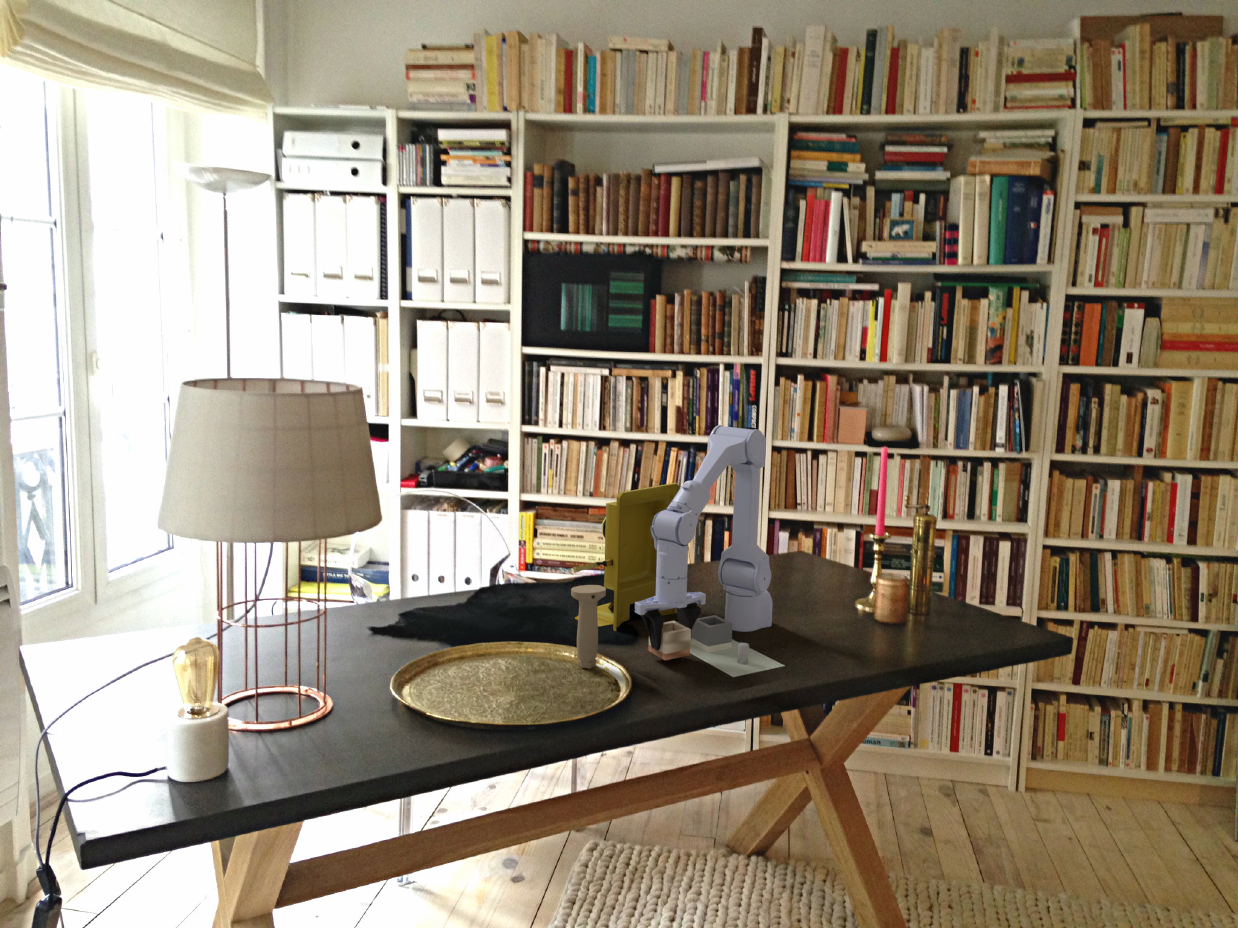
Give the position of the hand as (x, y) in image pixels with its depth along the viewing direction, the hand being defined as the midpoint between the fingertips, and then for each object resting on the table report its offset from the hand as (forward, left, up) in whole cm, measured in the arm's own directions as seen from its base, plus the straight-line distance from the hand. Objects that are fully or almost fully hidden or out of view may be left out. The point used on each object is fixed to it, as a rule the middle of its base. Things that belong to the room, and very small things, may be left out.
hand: (669, 645), depth 188 cm
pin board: (-12, +2, -5) cm, 13 cm away
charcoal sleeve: (-12, -3, -3) cm, 13 cm away
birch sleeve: (0, 0, -1) cm, 1 cm away
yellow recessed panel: (-8, -28, -5) cm, 29 cm away
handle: (+13, -8, -5) cm, 16 cm away
